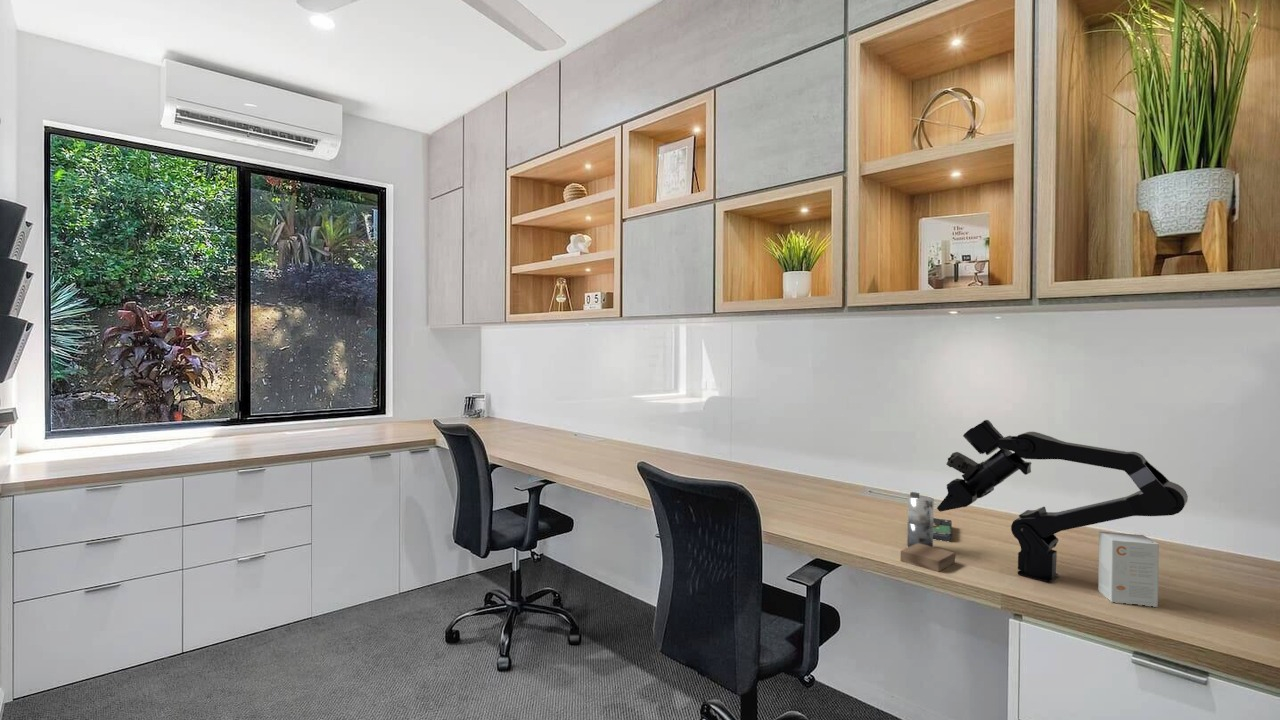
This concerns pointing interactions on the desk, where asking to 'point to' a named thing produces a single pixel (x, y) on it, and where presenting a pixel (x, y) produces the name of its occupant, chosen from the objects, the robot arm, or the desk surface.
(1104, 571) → the small box
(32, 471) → the desk surface
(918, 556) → the stand
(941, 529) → the disk drive
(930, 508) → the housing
